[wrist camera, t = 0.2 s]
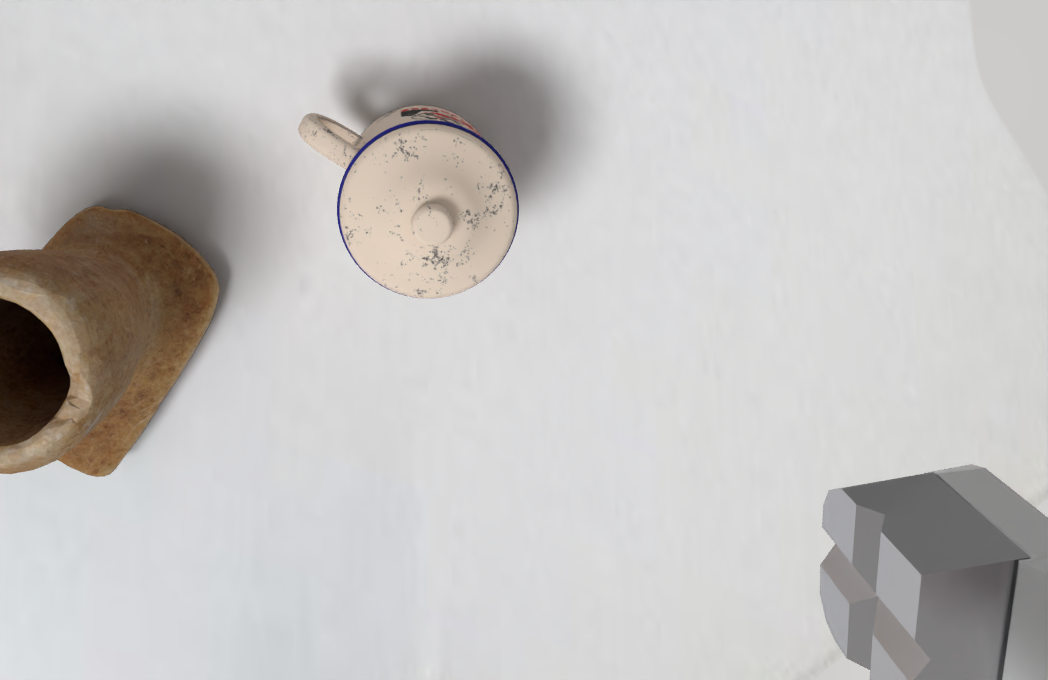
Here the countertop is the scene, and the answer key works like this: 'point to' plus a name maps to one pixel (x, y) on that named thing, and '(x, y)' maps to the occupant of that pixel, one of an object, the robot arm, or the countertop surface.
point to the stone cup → (95, 337)
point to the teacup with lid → (420, 199)
